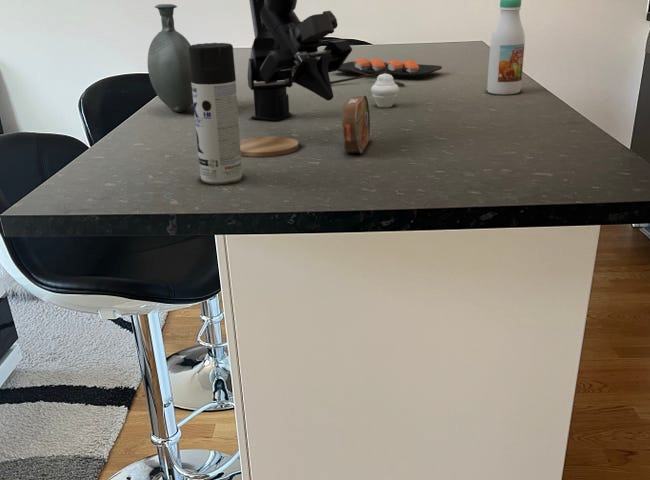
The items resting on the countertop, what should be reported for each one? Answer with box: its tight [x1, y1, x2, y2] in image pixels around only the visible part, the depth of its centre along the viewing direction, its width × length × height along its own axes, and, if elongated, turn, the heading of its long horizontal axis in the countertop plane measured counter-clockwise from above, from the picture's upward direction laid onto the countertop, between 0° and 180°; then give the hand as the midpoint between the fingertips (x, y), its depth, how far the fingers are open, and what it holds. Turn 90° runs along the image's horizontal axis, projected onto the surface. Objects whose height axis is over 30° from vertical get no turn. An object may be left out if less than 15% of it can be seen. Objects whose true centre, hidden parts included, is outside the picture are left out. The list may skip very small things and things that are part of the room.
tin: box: [341, 94, 371, 155], centre depth 136 cm, size 15×3×8 cm, turn 168°
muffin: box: [370, 73, 400, 108], centre depth 170 cm, size 6×6×7 cm
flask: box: [147, 3, 194, 113], centre depth 168 cm, size 12×17×22 cm
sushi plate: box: [330, 57, 443, 87], centre depth 203 cm, size 29×30×4 cm
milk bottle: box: [486, 0, 526, 95], centre depth 177 cm, size 8×8×20 cm
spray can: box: [189, 42, 243, 185], centre depth 118 cm, size 7×7×20 cm
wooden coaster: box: [240, 136, 299, 158], centre depth 140 cm, size 12×12×1 cm
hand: (330, 98), depth 139 cm, fingers closed
